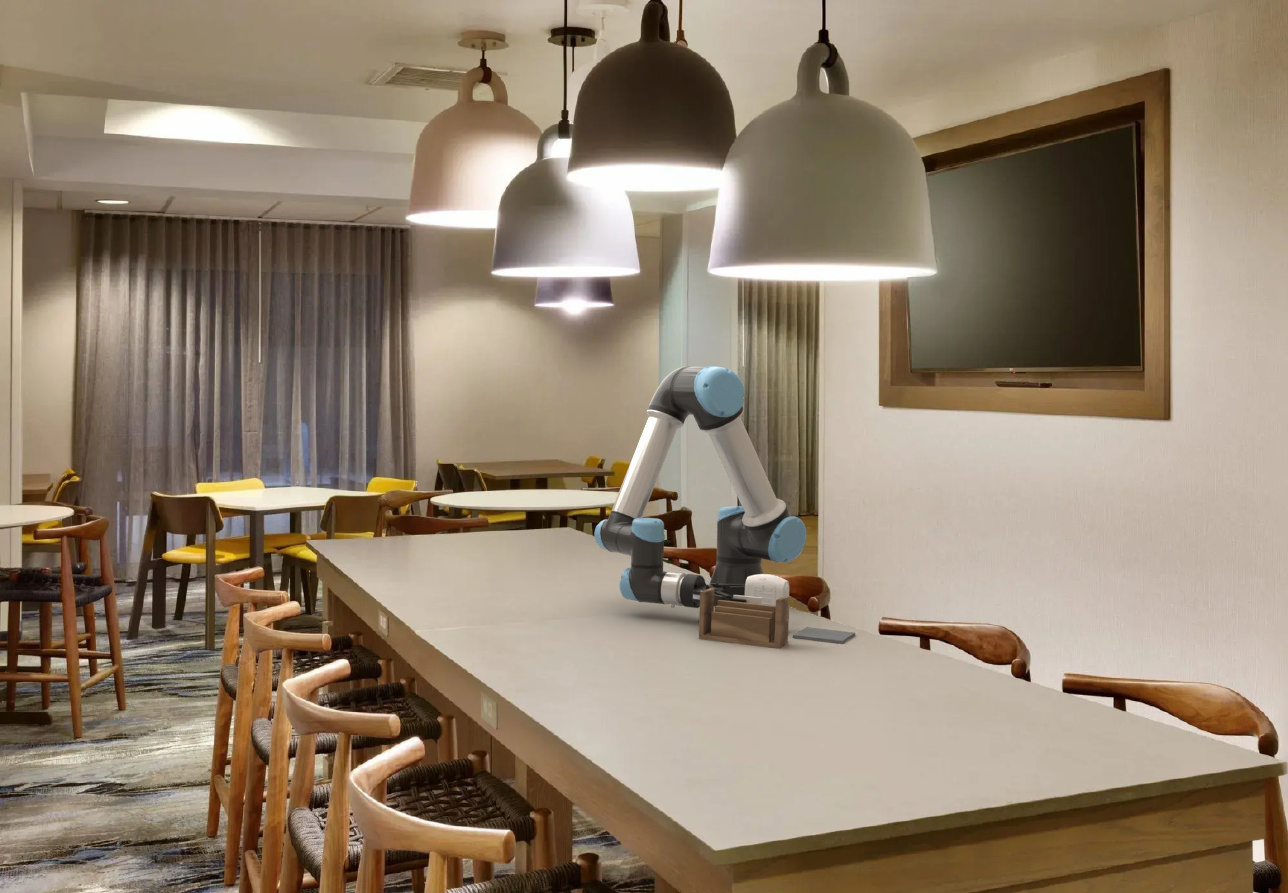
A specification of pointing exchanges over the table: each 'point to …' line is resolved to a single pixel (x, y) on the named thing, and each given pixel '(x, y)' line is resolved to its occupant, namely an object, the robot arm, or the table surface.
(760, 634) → the offcut rack
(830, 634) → the pad
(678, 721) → the table surface
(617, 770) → the table surface
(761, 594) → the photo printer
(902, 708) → the table surface
